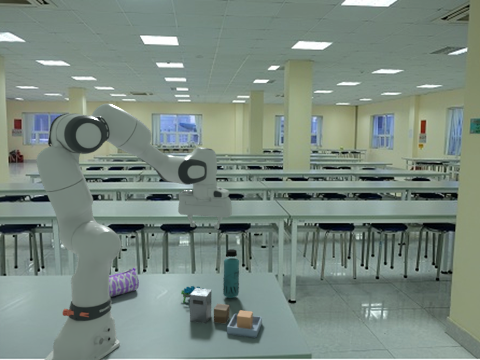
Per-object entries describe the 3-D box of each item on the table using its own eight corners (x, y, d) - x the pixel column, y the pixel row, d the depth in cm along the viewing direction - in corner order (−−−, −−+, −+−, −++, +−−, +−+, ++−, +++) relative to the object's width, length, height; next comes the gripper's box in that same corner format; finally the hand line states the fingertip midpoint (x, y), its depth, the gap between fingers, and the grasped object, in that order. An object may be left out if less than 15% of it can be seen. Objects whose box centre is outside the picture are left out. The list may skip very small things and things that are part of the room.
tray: (256, 338, 130) (256, 330, 130) (227, 334, 132) (227, 326, 132) (261, 323, 140) (262, 316, 139) (234, 320, 142) (234, 313, 142)
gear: (212, 294, 160) (204, 284, 152) (210, 308, 156) (201, 299, 149) (187, 294, 163) (177, 284, 155) (184, 309, 159) (174, 299, 152)
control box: (205, 323, 139) (206, 296, 138) (189, 321, 140) (189, 294, 139) (211, 315, 145) (211, 289, 144) (196, 313, 147) (196, 287, 146)
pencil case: (131, 285, 173) (131, 264, 172) (142, 291, 166) (142, 269, 165) (80, 299, 158) (80, 276, 156) (90, 307, 151) (89, 283, 150)
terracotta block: (249, 331, 133) (250, 317, 132) (236, 330, 134) (237, 316, 133) (252, 325, 137) (252, 311, 137) (239, 323, 138) (240, 310, 138)
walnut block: (225, 323, 139) (226, 310, 139) (213, 322, 140) (213, 308, 140) (229, 318, 144) (229, 305, 143) (217, 316, 145) (217, 303, 144)
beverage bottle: (220, 299, 159) (220, 251, 156) (226, 293, 165) (227, 246, 162) (235, 302, 157) (236, 253, 154) (241, 296, 163) (242, 248, 160)
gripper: (175, 190, 147) (175, 227, 148) (228, 193, 142) (228, 231, 144) (181, 188, 153) (181, 223, 154) (233, 191, 148) (232, 227, 150)
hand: (204, 227), depth 149 cm, fingers open, 8 cm apart
